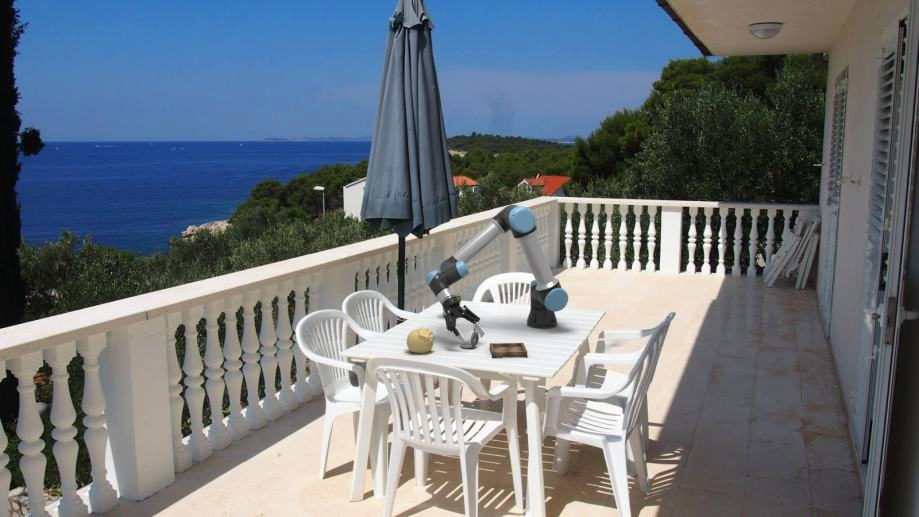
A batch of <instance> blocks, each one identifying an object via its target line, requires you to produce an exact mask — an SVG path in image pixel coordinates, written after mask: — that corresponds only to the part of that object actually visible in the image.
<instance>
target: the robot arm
mask: <svg viewBox="0 0 919 517" xmlns="http://www.w3.org/2000/svg"><path fill="white" fill-rule="evenodd" d="M536 220H537V219H536V215H535V213H534V211H532V209H530V208H528V207H526V206H524V205H519V204H518V205H517V204H510V205H507V206H505V207H504V208H502V209H501V210H500V211H499V212H497V214H495V215H494V216H493V217H492V218H491V219H490V222H489V223H488V224H486V226H485V227H483V229H481V230H479V232H477V234H475V235H474V236H473V237H472V238H471V239H470V240H469V241H467V242H466V243H465V244H464V245H462V246H461V247H460V248H459V249H458V250H457V251H456V252H454V253H453V254H452V255H451V256H450V257H449V258H447V259H446V258H445V259H442V260H441V261H440V263H439V265H438V269H439V270H437V269H435V270H432V271H430V272H428V273H427V275H426V276H425V279H424V280H425V282H426V284H427V285H428V288H429V289H430V290H431V292H432V294H434V296H435V298H436V299H437V301H438V302H439V303H440V305H441V307H442V309H443V308H444V310H445V311H444V312H443V311H442V315H443V318H444V320H445V325H446V330H447V331H449V332H450V333H452V332H453V334H454V336H455V337H456V338H457V339H458V341H459V342H460V344H463V343H464V341H465V340H466V338H465V337H464V334H463V333H462V331H460V329H459V327H458V326H457V319H458V318H462V319H465V320H466V321H468V322H469V323H471V324H473V328H474V327H475V326H476V327H475V328H476V329H475V331H476V332H478V334H479V336H480V337H481V338H482V337H484V336H485V334H486V332H485V330H484V329H483V327H482V325H481V323H480V320H481V318H480V317H479V316H478V315H477V314H475V313H474V312H473V311H472V310H471V309H469V308H468V306H467V305H466V304H464V305H462V306H461V304H460V305H459V301H458V299H457V298H456V297H455V295H456V294H455V293H454V292H453V290H452V289H451V288H450V286H452V285H453V284H455V283H457V282H459V281H460V280H462V279H464V278H465V277H466V276H468V275H469V274H470V270H469V267H467V263H469V262H471V260H473V259H474V258H475V257H476V256H478V255H479V254H480V253H481V252H482V251H483V250H485V248H487V247H488V246H489V245H490V244H491V243H492V242H494V241H495V240H496V239H497V238H499V237H500V236H501V235H505V234H506V233H507V232H509V231H510V232H511V235H512V236H513V239H514V240H518V242H519V244H520V247H521V250H522V251H523V253H524V256H525V258H526V261H527V263H528V266H529V269H530V271H531V273H532V275H533V277H534V279H532V280H531V282H530V286H529V289H530V290H529V291H530V292H529V293H530V299H529V300H530V310H529V313H528V317H527V320H526V326H528V328H529V327H530V328H534V329H551V328H556V327H558V318H557V316H556V312H560V311H562V310H563V309H564V308H566V306H567V304H568V303H569V302H568V301H569V295H568V293H567V291H566V290H565V289H564V288H563V287H562V285H561V283H560V280H559V278H556V277H554V275H553V274H554V273H553V272H552V270H551V267H550V264H549V262H548V260H547V258H546V257H547V256H546V255H545V253H544V249H543V248H542V245H541V243H540V241H539V238H538V236H537V234H536V232H537V230H538V228H537V225H536ZM450 315H451V318H450Z"/></svg>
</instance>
